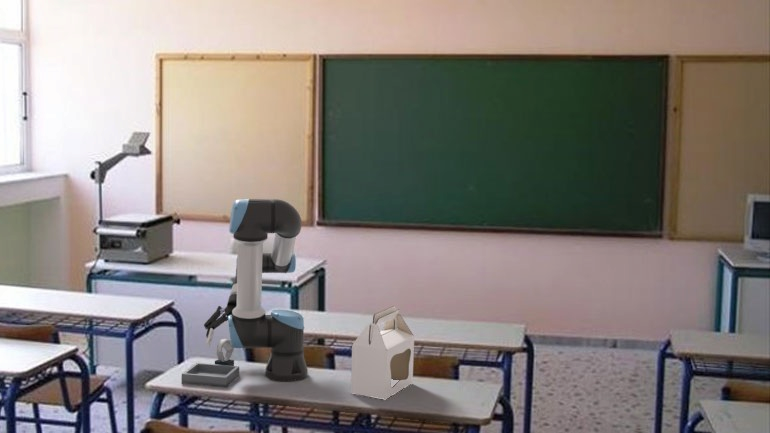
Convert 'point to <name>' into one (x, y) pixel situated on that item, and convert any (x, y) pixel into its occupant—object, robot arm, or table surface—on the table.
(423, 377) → the table surface
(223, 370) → the tray
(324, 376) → the table surface
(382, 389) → the gable box
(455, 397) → the table surface
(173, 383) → the table surface
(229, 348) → the watch
